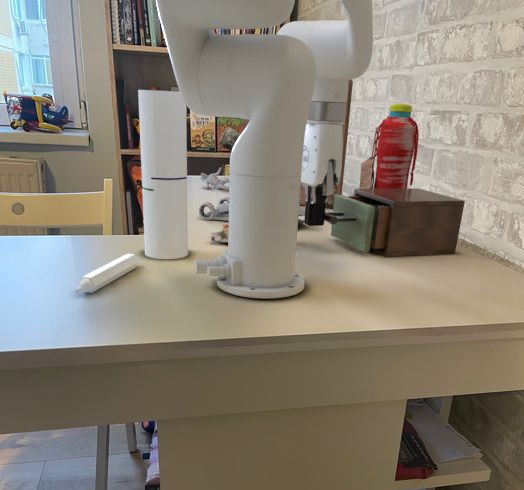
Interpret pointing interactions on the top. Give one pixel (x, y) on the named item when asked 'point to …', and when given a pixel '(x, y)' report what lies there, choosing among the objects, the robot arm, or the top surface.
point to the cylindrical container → (164, 173)
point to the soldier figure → (215, 180)
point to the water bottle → (392, 151)
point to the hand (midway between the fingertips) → (313, 224)
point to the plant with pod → (228, 143)
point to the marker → (107, 273)
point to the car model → (227, 211)
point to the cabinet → (418, 221)
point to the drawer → (359, 221)
